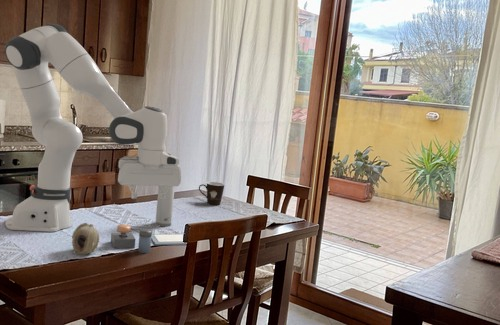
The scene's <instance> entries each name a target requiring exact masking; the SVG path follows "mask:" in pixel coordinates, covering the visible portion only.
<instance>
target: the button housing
mask: <svg viewBox="0 0 500 325" xmlns="http://www.w3.org/2000/svg"><path fill="white" fill-rule="evenodd" d="M110 234H111V235H110V243H111V245H112V247H113V249H126V248H127V249H128V248H129V249H131V248H132V249H133V248H134V249H135V248H136V238H135V236H134V235H133V233H132V232H129V233H126V237H121V233H120V232H111V233H110Z"/></svg>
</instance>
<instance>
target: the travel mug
mask: <svg viewBox="0 0 500 325" xmlns="http://www.w3.org/2000/svg"><path fill="white" fill-rule="evenodd" d="M175 188H176V186H170V189H169V191H168V192H167V194H166V197H165V199H161V198H160V196H161V195H160V193H163V191H164V190H165V188H164V186H158V189H157V190H158V191H157V201H156V212H155V213H156V214H155V225H156V224H157V225H156V226H158V225H160V226H159V227H170V226H172V218H173V209H174V198H175V197H174V196H175Z"/></svg>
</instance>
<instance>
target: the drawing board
mask: <svg viewBox="0 0 500 325" xmlns="http://www.w3.org/2000/svg"><path fill="white" fill-rule="evenodd" d="M183 234H184V233H152V237H151V242H152V243H153V244H154V246H186V243H184V242H183Z"/></svg>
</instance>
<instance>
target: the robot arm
mask: <svg viewBox="0 0 500 325" xmlns="http://www.w3.org/2000/svg"><path fill="white" fill-rule="evenodd" d="M4 53H5V57H6V59H7V61H8V63H9V64H10V65H11V66H12V67H13V69H14V74H15V78H16V80H17V83H18V87H19V89H20V91H21V93H22V95H23V98H24V102H25V103H26V106H27V109H28V112H29V115H30V116H29V117H30V121H31V122H30V123H31V134H32V136H33V138H34V139H35V141H36V142H38V143H39V144H40V145H42V146H44V147H45V149H44V154H43V155H42V156H43V157H42V159H41V161H40V163H39V164H38V167H37V169H38V172H37V185H35V184H31V185H30V186H29V190H30V196H29V197H28V198H26V199H24V200H23V201H21V202H20V203H18V204H17V205H16V206H15V207H14V210H13V212H12V216H10V217H8V218H7V219H6V220H5V224H4V225H5V228H7V229H8V230H11V231H29V232H53V233H54V232H57V231H59V230H62V229H63V230H64V229H67V228H69V227H71V226H72V225H73V223H72V219H71V218H72V217H71V212H70V202H71V198H72V189H71V186H70V185H71V174H72V173H71V172H72V165H73V161H74V158H75V155H76V152H77V150H78V149H79V148H80V147H81V146H82V143H83V140H84V138H83V133H82V131H81V129H80V128H79V127H78V126H76V124H74V123H73V122H71V121H67V120H64V118H63V117H62V115H61V105H60V103H61V96H60V94H59V91H58V89H57V87H56V86H57V85H56V84H55V81H54V78H53V76H52V74H51V73H52V72H51V70H50V68H49V63H50V65H52V66H53V67H54V69H55V70H56V71H57V72H58V74H59V75H60V77H61V78H62V79H63V80H64V81H65V82H66V83H67V85H69V86H70V87H71V88H72V89H74V90H75V91H76V92H80V93H82V94H84V95H88V96H90V97H92V98H94V99H95V100H96V101H98V102H99V103H100V104H101V105H102V106H103V108H105V110H106V111H107V112H108V113H109V114H110V115H111V117H112V118H113V120H112V121H111V122H110V124H109V127H108V134H109V136H110V138H111V140H112V141H113V142H114V143H116V144H118V145H121V146H129V145H135V144H136V145H138V146H137V147H138V148H137V149H138V150H137V156H127V155H125V156H123V157H120V158H119V159H118V164H117V166H118V169H119V171H118V176H117V182H118V183H119V184H120V185H121V186H128V188H129V191H130V192H131V199H132V200H137V199H138V193H137V192H135V191H134V190H133V189H135V186H138V187H139V186H141V187H142V186H144V187H146V186H147V187H150V186H152V187H159V186H164V188H165V190H164V191H163V193H160V195H161V196H160V198H161V199H165V197H166V194H167V192H168V191H169V189H170V186H175V187H179V186H180V185H181V183H182V182H181V181H182V174H181V173H182V171H181V167H180V166H179V164H180V159H179V158H178V157H177V156H175V155H172V154H170V153H168V152H166V151H167V146H166V140H167V137H168V116H167V113H166V112H165V111H164V110H163V109H160V108H157V107H155V106H154V107H153V106H148V105H147V106H143V107H142V108H140V109H138V110H136V111H135V110H133V109H132V108H131V107H130V106H128V104H127V103H126V102H125V101H124V100H123V98H121V96H120V94H118V93H117V91H116V90H115V89H114V87H112V86H111V84H110V83H109V81H108V80H107V78H106V77H105V75H104V74H103V73H102V71H101V70H100V68H99V66H98V65H97V63H96V62H95V60H94V59H93V58H92V56H91V55H90V54H89V53H88V52H87V50H86V49H85V48H84V47H83V46H82V45H81V44H80V42H79V41H78V40H77V39H75V38H74V37H73V36H72V35H71V34H70V33H68V30H66V28H65V27H64V26H62V25H60V24H59V23H58V24H57V23H48V24H46V25H42V26H39V27H35V28H32V29H30V30H28V31H26V32H24V33H21V34H20V35H17V36H16V35H15V36H13V37H12V38H10V39H9V40H8V41H7V42H6V43H5V45H4Z"/></svg>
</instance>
